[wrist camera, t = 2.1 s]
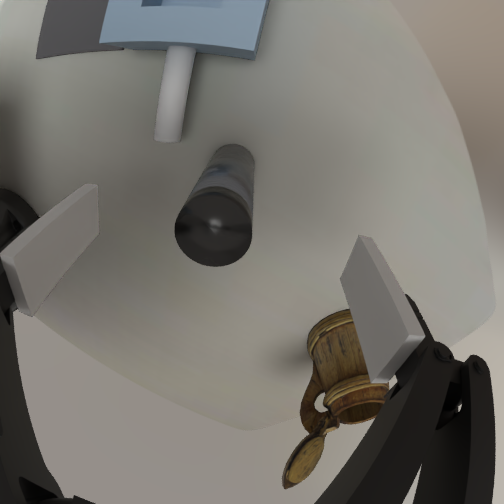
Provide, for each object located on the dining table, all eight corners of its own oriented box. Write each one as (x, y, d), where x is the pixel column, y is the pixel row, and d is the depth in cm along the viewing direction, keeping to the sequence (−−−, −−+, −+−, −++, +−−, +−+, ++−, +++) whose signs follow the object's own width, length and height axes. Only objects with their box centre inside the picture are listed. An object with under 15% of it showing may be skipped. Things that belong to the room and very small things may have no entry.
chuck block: (123, 127, 22) (88, 142, 16) (160, -47, 13) (135, -74, 8) (237, 142, 22) (230, 159, 17) (280, -40, 14) (286, -72, 9)
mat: (38, 58, 17) (35, 59, 17) (59, -28, 12) (57, -29, 11) (123, 49, 18) (121, 49, 18) (149, -46, 13) (147, -48, 12)
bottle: (208, 181, 24) (172, 259, 14) (214, 140, 22) (177, 191, 12) (249, 188, 25) (244, 272, 14) (258, 148, 23) (259, 205, 13)
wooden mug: (262, 338, 35) (262, 483, 19) (369, 298, 31) (419, 444, 16) (290, 374, 39) (297, 494, 23) (381, 341, 35) (418, 462, 20)
